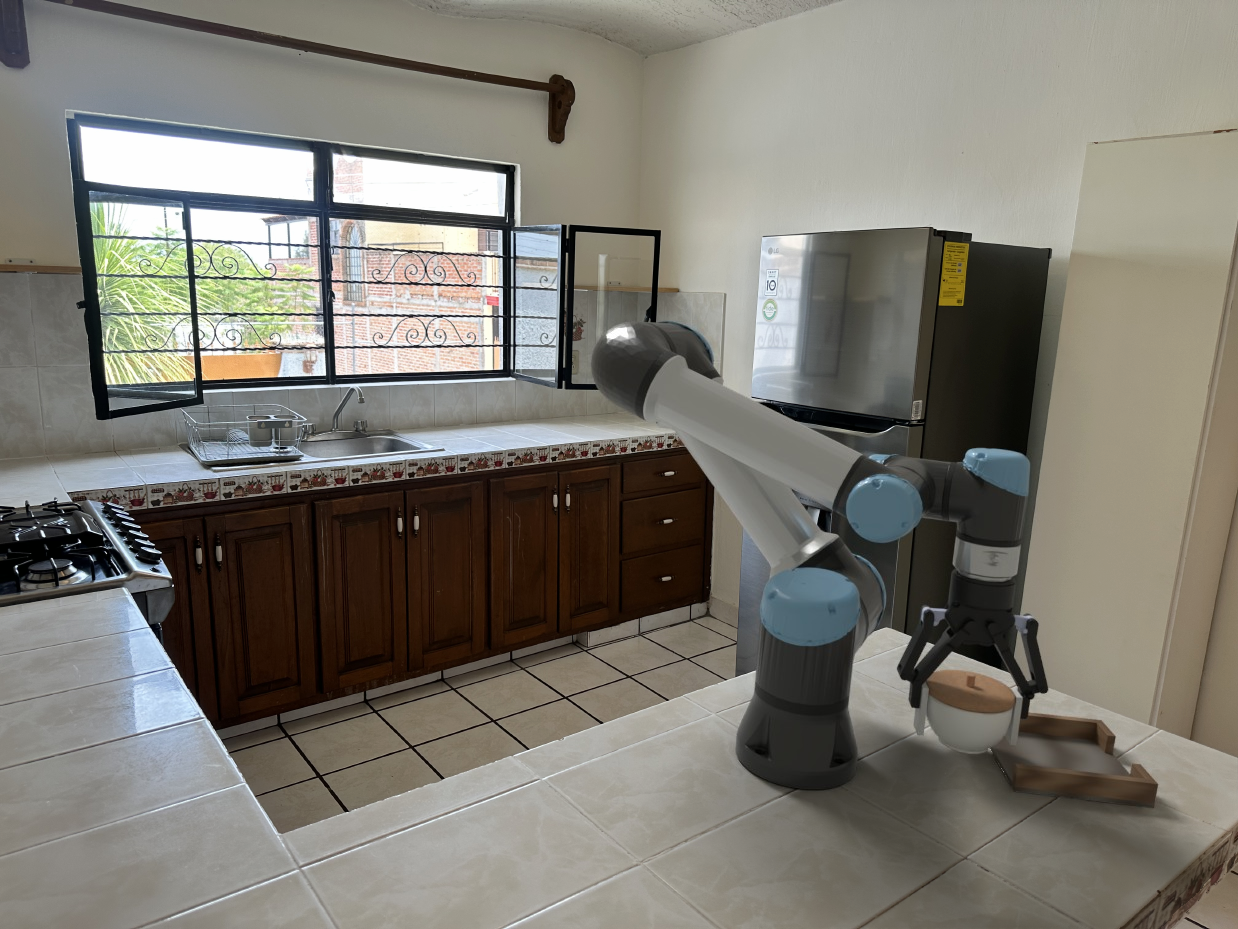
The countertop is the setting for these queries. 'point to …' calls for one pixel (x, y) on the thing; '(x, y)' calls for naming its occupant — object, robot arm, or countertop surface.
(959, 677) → the lidded jar
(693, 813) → the countertop surface
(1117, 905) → the countertop surface
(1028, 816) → the countertop surface
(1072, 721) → the holder
